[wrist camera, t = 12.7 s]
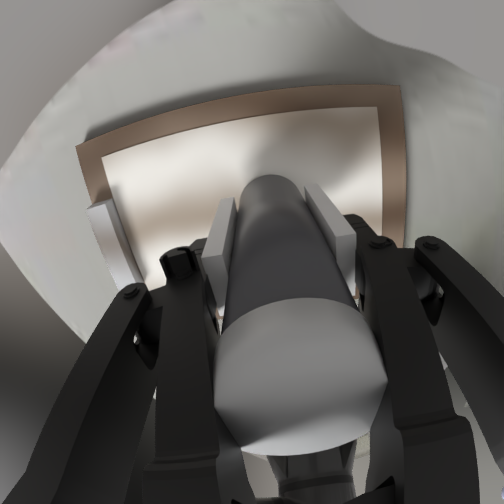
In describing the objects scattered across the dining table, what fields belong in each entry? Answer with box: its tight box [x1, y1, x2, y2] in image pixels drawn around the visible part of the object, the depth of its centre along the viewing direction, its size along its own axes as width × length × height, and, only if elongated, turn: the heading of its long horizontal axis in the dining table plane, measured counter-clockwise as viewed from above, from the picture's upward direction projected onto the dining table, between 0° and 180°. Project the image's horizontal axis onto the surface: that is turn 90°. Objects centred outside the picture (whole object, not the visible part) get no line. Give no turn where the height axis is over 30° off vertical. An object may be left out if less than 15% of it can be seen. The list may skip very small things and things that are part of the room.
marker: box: [213, 174, 388, 456], centre depth 11 cm, size 4×4×14 cm
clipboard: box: [75, 84, 406, 320], centre depth 18 cm, size 16×22×2 cm
